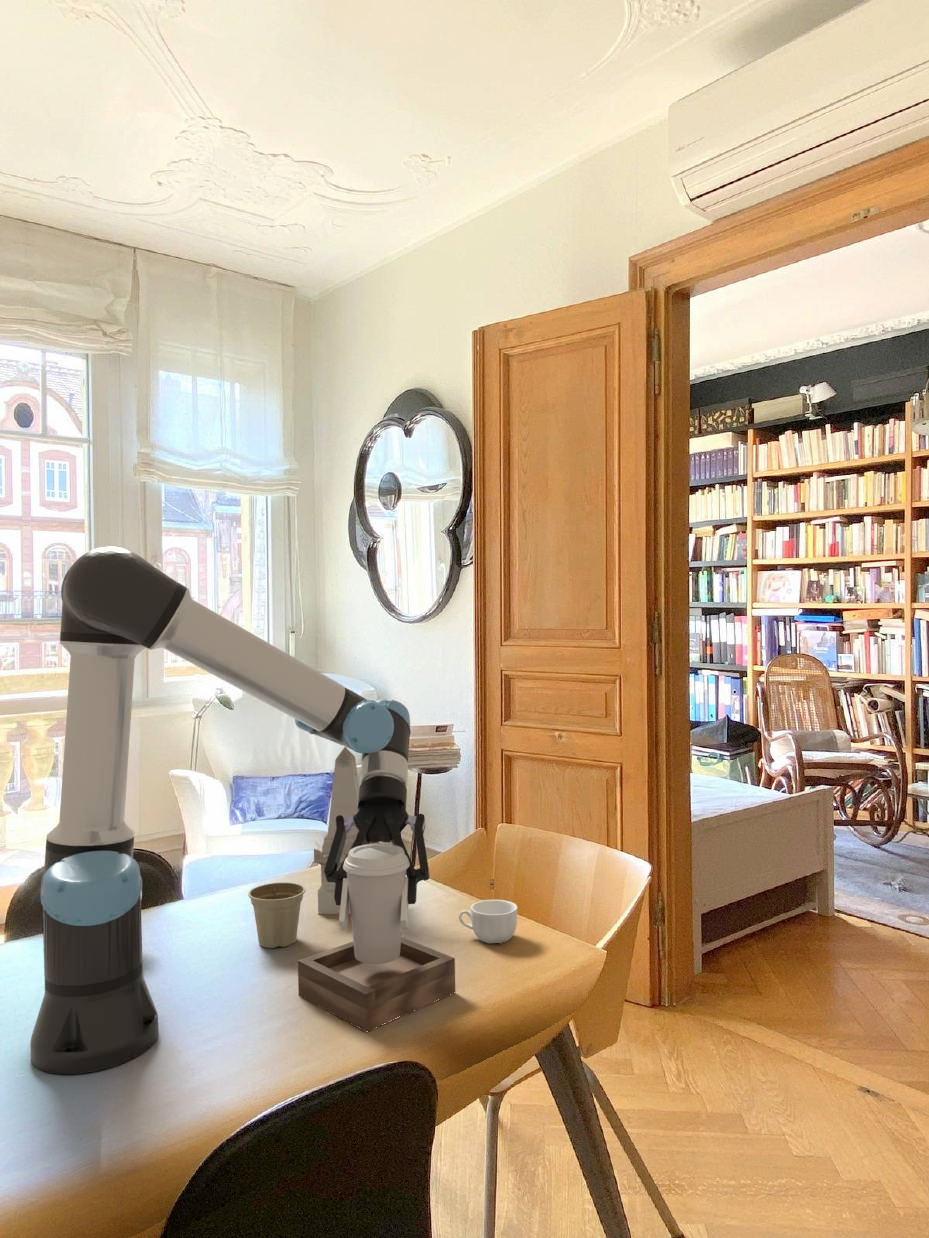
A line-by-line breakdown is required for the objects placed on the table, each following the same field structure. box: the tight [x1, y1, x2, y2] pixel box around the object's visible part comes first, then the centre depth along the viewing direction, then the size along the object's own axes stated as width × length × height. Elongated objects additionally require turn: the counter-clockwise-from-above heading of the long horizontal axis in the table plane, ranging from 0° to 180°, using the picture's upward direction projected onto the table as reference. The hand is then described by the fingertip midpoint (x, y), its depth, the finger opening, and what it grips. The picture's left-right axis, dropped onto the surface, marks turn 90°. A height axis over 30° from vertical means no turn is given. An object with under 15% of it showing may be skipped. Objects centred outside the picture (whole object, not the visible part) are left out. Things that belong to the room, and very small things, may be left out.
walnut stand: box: [297, 936, 456, 1032], centre depth 123 cm, size 16×16×5 cm
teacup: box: [458, 899, 518, 944], centre depth 143 cm, size 10×8×5 cm
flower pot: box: [248, 881, 306, 949], centre depth 144 cm, size 9×9×9 cm
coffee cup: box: [343, 843, 410, 964], centre depth 123 cm, size 10×10×15 cm
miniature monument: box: [313, 746, 380, 915], centre depth 162 cm, size 10×10×30 cm
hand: (373, 924), depth 120 cm, fingers closed on coffee cup, 8 cm apart
